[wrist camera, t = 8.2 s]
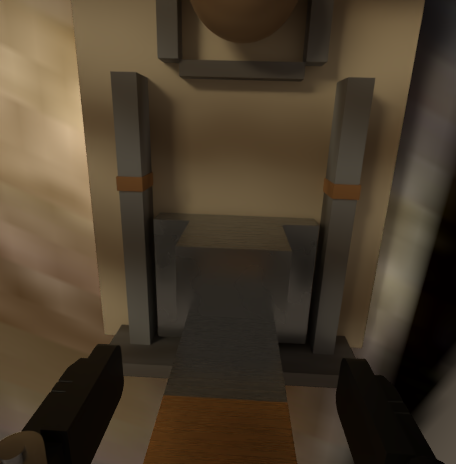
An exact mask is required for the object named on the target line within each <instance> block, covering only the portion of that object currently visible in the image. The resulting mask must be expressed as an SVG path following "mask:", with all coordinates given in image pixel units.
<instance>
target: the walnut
mask: <svg viewBox="0 0 456 464" xmlns="http://www.w3.org/2000/svg"><path fill="white" fill-rule="evenodd" d="M190 2H191V4H192V6H193V9H194V10H195V12H196V14H197V16H198V17H199V19H200V20H201V21H202V23H203V24H204V25H205V26H206V27H207V28H208V29H209V30H210V31H211V32H213V33H214V34H215V35H217V36H218V37H220V38H222V39H225V40H227V41H230V42H234V43H252V42H256V41H259V40H262V39H264V38H266V37H268V36H270V35H271V34H273V33H274V32H276V31H277V30H278V29H279V28H280V27H281V26H282V25H283V24H284V23H285V22H286V21H287V19H288V18H289V16H290V15H291V13H292V12H293V10H294V8H295V6H296V4H297V2H298V0H190Z"/></svg>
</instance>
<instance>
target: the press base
mask: <svg viewBox="0 0 456 464" xmlns="http://www.w3.org/2000/svg"><path fill="white" fill-rule="evenodd" d="M71 4H72V14H73V24H74V34H75V44H76V54H77V64H78V74H79V84H80V94H81V104H82V114H83V123H84V133H85V143H86V153H87V163H88V173H89V183H90V193H91V203H92V213H93V223H94V233H95V243H96V253H97V263H98V272H99V282H100V292H101V302H102V312H103V322H104V332H105V335H115V336H114V338H113V339H112V341H111V343H110V345H120V347H121V352H122V364H123V376H136V377H153V378H169V376H170V372H171V369H172V366H173V362H174V359H175V355H176V352H177V349H178V345H179V342H180V339H181V337H162V336H158V315H157V292H156V268H155V245H154V221H153V219H154V218H155V217H156V216H157V215H158V214H159V213H160V212H161V213H186V214H211V215H237V216H262V217H287V218H312V219H314V220H315V221H316V222H317V224H318V225H319V232H318V240H317V249H316V257H315V266H314V274H313V282H312V291H311V299H310V308H309V316H308V325H307V333H306V342H305V344H294V343H278V345H279V352H280V358H281V365H282V371H283V377H284V384H285V385H292V386H309V387H327V388H337V384H338V378H339V371H340V365H341V361H342V359H343V358H355V356H354V354H353V352H352V350H351V348H362V345H363V340H364V334H365V329H366V323H367V318H368V312H369V307H370V301H371V296H372V290H373V285H374V279H375V274H376V268H377V263H378V257H379V252H380V246H381V241H382V235H383V230H384V224H385V219H386V213H387V208H388V202H389V196H390V191H391V185H392V180H393V174H394V169H395V163H396V158H397V152H398V147H399V141H400V136H401V130H402V125H403V119H404V114H405V108H406V103H407V97H408V92H409V86H410V81H411V75H412V70H413V64H414V59H415V53H416V48H417V42H418V37H419V31H420V26H421V20H422V15H423V9H424V4H425V0H298V2H297V4H296V6H295V8H294V10H293V12H292V13H291V15H290V16H289V18H288V19H287V21H286V22H285V23H284V24H283V25H282V26H281V27H280V28H279V29H278V30H277V31H276V32H274V33H273V34H271V35H270V36H268V37H266V38H264V39H262V40H259V41H256V42H252V43H234V42H230V41H227V40H225V39H222V38H220V37H218V36H217V35H215V34H214V33H213V32H211V31H210V30H209V29H208V28H207V27H206V26H205V25H204V24H203V23H202V21H201V20H200V19H199V17H198V16H197V14H196V12H195V10H194V9H193V6H192V4H191V2H190V0H71Z"/></svg>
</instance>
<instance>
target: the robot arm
mask: <svg viewBox="0 0 456 464" xmlns="http://www.w3.org/2000/svg"><path fill="white" fill-rule="evenodd" d="M123 386H124V376H123V364H122V352H121V347H120V345H110V344H98V345H96V347H95V348H94V350H93V351H92V353H91V354H90V356H89V357H88V358H80V359H79V360H77V361H76V362H75V363H73V364H72V365H71V366H69V367H68V368H67V369H66V371H65V372H64V373H63V375H62V376H61V377H60V379H59V382H57V383H56V384H55V386H54V387H53V388H52V391H51V392H50V393H49V394H48V395H47V397H46V398H45V399H44V401H43V402H42V404H41V405H40V406H39V408H38V409H37V410H36V412H35V413H34V415H33V416H32V417H31V419H30V420H29V421H28V423H27V424H26V425H25V427H24V428H23V430H22V431H21V432H17V433H14V434H12V435H10V436H7V437H6V438H4V439H2V440H1V441H0V464H91V462H92V460H93V458H94V456H95V453H96V451H97V449H98V447H99V445H100V442H101V440H102V438H103V436H104V434H105V431H106V429H107V427H108V425H109V423H110V420H111V418H112V416H113V414H114V412H115V409H116V407H117V405H118V403H119V401H120V398H121V395H122V391H123ZM336 406H337V411H338V415H339V418H340V421H341V424H342V427H343V430H344V433H345V436H346V439H347V442H348V445H349V448H350V451H351V454H352V457H353V461H354V464H444V463H443V462H441V461H439V460H437V459H436V457H435V455H434V454H433V452H432V450H431V448H430V447H429V445H428V443H427V441H426V440H425V438H424V436H423V434H422V433H421V431H420V429H419V427H418V426H417V424H416V422H415V421H414V419H413V417H412V415H410V412H409V410H408V408H407V407H406V405H405V403H403V400H402V398H401V396H400V395H399V393H398V391H397V389H396V388H395V387H394V386H393V385H392V384H391V383H390V382H389V381H388V380H387V379H386V378H385V377H384V376H381V375H374V373H373V371H372V369H371V367H370V365H369V364H368V362H367V360H366V359H356V358H343V359H342V361H341V365H340V371H339V378H338V384H337V390H336Z"/></svg>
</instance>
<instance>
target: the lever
mask: <svg viewBox="0 0 456 464" xmlns="http://www.w3.org/2000/svg"><path fill="white" fill-rule="evenodd" d="M153 221H154V245H155V268H156V292H157V315H158V336H162V337H181V339H180V342H179V345H178V349H177V352H176V355H175V359H174V362H173V366H172V369H171V372H170V376H169V379H168V382H167V386H166V389H165V392H164V396H163V399H162V402H161V406H160V409H159V412H158V416H157V419H156V422H155V426H154V429H153V432H152V436H151V439H150V443H149V446H148V449H147V453H146V456H145V459H144V463H143V464H297V461H296V454H295V448H294V442H293V435H292V429H291V422H290V416H289V409H288V403H287V397H286V390H285V384H284V377H283V371H282V365H281V358H280V352H279V345H278V343H294V344H305V342H306V333H307V325H308V316H309V308H310V299H311V291H312V282H313V274H314V266H315V257H316V249H317V240H318V232H319V225H318V224H317V222H316V221H315V220H314V219H312V218H287V217H262V216H237V215H211V214H186V213H161V212H160V213H159V214H158V215H157V216H156V217H155V218H154V219H153Z"/></svg>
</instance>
